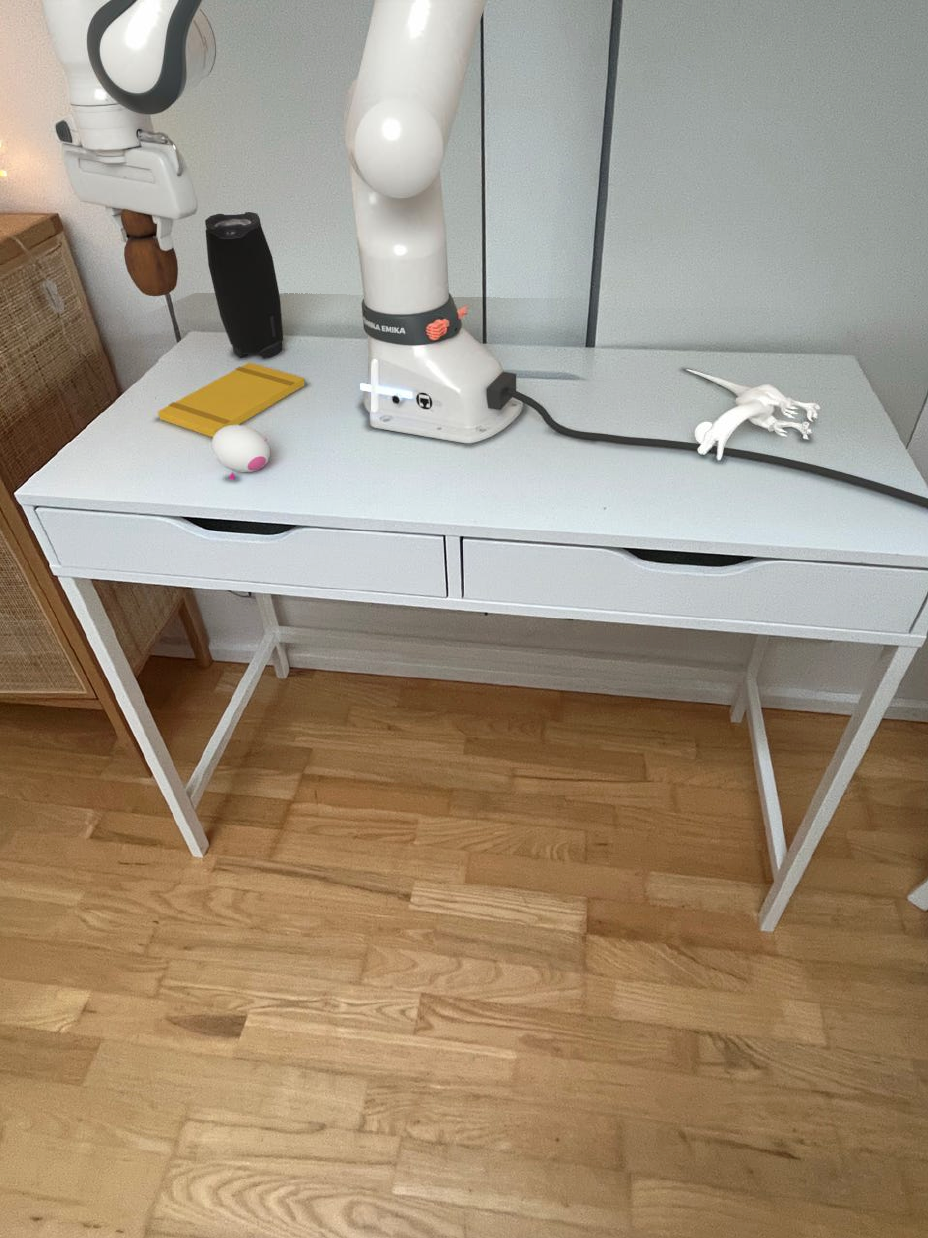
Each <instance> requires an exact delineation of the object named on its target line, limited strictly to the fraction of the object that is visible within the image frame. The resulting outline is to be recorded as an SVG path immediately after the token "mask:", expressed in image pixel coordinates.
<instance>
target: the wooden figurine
mask: <svg viewBox="0 0 928 1238" xmlns="http://www.w3.org/2000/svg"><path fill="white" fill-rule="evenodd" d="M121 222H122V225H123V228H124V230H125V231H126V233H127V234H129V235H130V236H131V237H130V238H129V239H128V241H127V242H125V245H124V251H123V256H124V264H125V268H126V271H127V273H128V275H129V277H130V278H131V280H132V282H133V283H134V285H135V287H136V288H137V289H138V290H139V291H140V292H141V293H142V294H143V295H145V296H149V297H161V296H165V295H168V294H169V293H172V291H174V290H175V288H176V287H177V284H178V276H179V265H178V259H177V254H176V250H175V249H174V247H173V248H172V249H170V250H167V251H163V250H159V249H157V248H156V247H155V242H154V240H153V236H154V235H157V224H155V223H154V222H153V218H152V215H149V214H144V213H139V212H134V211H131V210H127V209H122V211H121Z"/></svg>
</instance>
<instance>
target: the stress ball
mask: <svg viewBox="0 0 928 1238" xmlns="http://www.w3.org/2000/svg"><path fill="white" fill-rule="evenodd" d="M269 444H270V443H269V442H268V438H265V436H264V435H262V433H260V432H259V431H258V430H256V429H254V428H252V427H249V426H247V425H243V424H239V425H229V426H225V427H223V428H221V429H220V430H218V431H217V432H216V433H215V435H214V437H212V440H211V450H212V453H213V455H214V456H215V459H217V461H218V462H220V464H221V465H223V466H225V468H228V469H230V470H232V472H231V474H229V476H228V478H229V479H232V480H234V481H235V480H236V479H235V476H234V471H236V472H239V473H251V472H256V471H258V470H260V469H262V468H263V467H265V466H266V465H267V463H268V462H269V460H270V457H271V447H270V445H269Z"/></svg>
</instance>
